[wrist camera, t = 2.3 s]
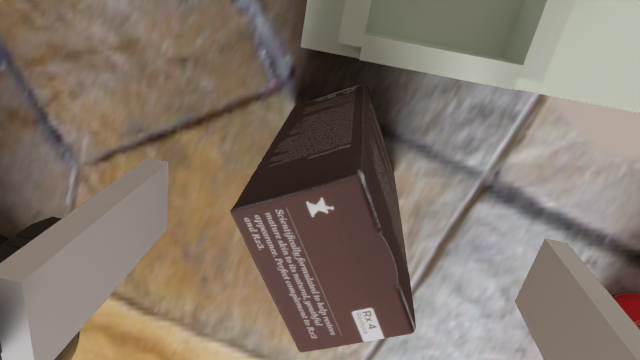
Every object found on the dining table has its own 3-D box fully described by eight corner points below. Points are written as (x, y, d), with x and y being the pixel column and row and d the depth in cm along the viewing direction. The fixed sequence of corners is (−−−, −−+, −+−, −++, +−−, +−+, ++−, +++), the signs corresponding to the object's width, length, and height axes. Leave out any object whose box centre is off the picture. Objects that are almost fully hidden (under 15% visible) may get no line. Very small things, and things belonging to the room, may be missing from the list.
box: (287, 107, 23) (222, 208, 12) (366, 81, 22) (375, 164, 11) (323, 201, 25) (296, 361, 14) (396, 180, 24) (430, 335, 13)
